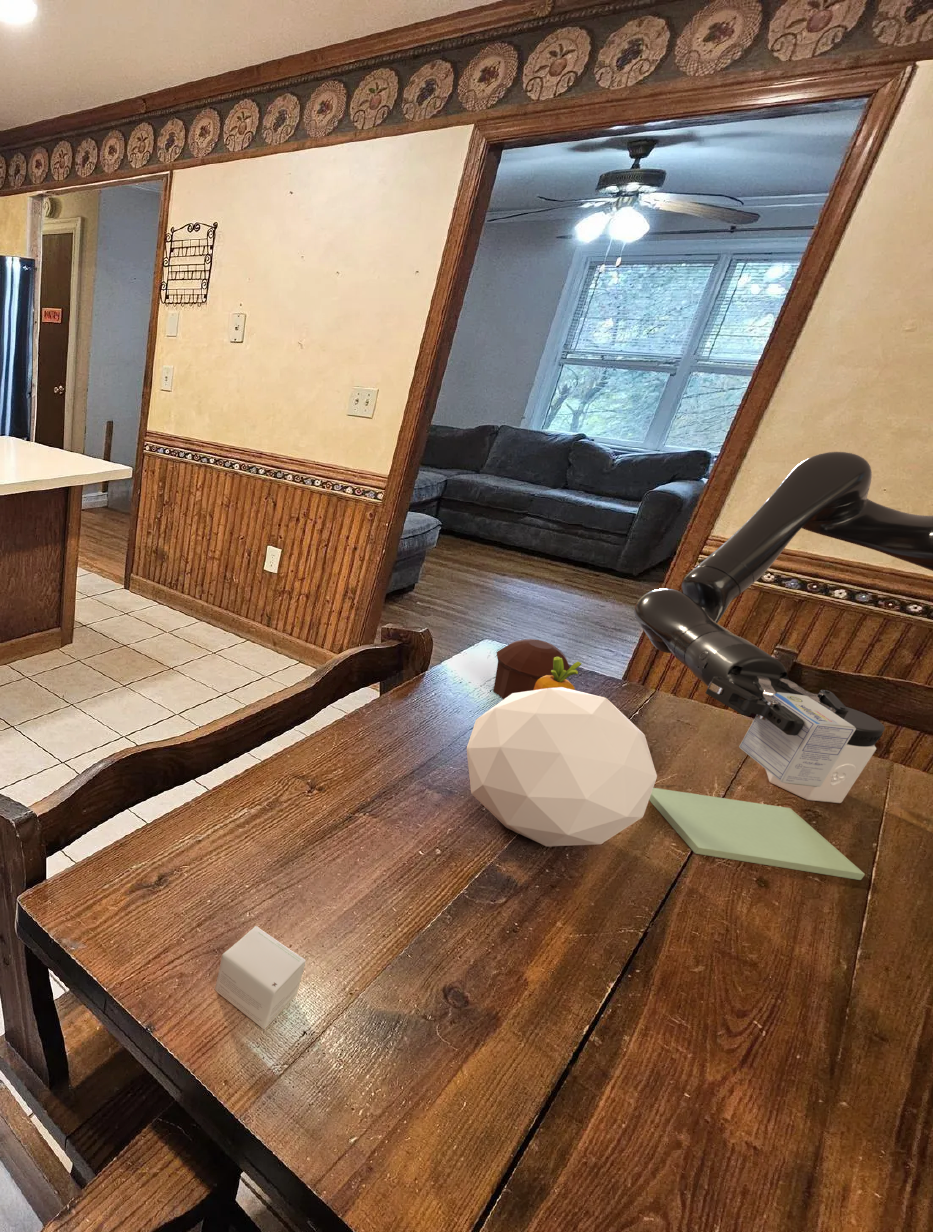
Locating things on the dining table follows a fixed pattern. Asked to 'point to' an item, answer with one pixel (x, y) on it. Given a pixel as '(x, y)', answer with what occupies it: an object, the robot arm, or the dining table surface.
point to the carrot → (557, 676)
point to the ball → (560, 766)
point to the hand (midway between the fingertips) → (821, 731)
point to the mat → (750, 833)
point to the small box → (259, 976)
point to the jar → (842, 762)
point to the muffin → (524, 665)
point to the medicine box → (799, 742)
